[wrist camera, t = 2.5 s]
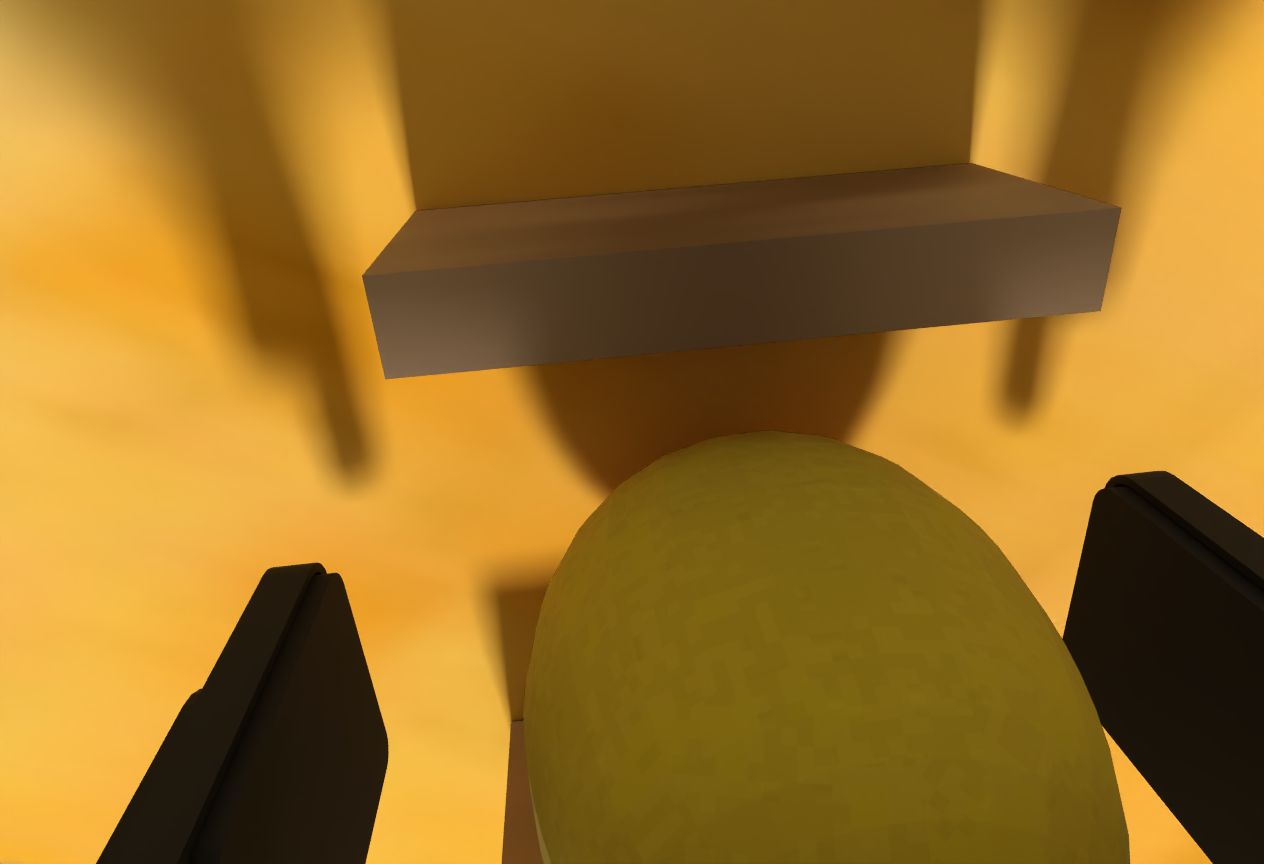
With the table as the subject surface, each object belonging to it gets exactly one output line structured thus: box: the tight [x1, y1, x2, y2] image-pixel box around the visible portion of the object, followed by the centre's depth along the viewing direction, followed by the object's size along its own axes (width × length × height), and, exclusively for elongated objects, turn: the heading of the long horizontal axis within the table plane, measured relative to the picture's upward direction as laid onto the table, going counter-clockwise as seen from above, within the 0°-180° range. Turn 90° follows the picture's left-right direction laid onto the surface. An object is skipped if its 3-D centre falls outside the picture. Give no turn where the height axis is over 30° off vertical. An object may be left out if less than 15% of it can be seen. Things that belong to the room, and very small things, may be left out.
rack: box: [362, 163, 1121, 864], centre depth 11 cm, size 7×10×3 cm
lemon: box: [523, 430, 1130, 864], centre depth 9 cm, size 6×6×8 cm
